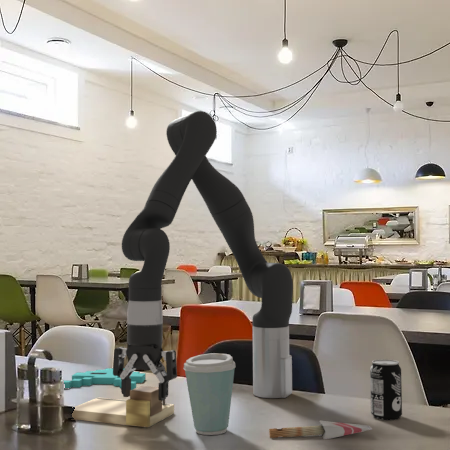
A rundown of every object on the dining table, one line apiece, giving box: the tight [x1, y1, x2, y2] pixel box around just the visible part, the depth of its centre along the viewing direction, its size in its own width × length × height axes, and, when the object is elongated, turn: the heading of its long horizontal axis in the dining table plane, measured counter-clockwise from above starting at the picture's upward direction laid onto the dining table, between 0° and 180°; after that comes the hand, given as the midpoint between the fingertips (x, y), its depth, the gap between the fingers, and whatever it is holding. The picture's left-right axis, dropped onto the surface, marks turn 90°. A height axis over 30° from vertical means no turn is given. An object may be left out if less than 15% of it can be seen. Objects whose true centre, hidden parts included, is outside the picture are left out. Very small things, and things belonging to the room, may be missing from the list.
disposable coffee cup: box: [182, 352, 236, 436], centre depth 130 cm, size 11×11×15 cm
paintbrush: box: [268, 420, 373, 440], centre depth 126 cm, size 4×3×20 cm
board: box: [72, 396, 175, 428], centre depth 142 cm, size 20×12×2 cm, turn 68°
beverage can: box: [369, 358, 403, 421], centre depth 139 cm, size 7×7×12 cm
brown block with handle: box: [125, 385, 166, 428], centre depth 138 cm, size 5×13×7 cm, turn 158°
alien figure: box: [62, 367, 147, 390], centre depth 179 cm, size 20×2×20 cm
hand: (144, 398), depth 136 cm, fingers open, 8 cm apart
